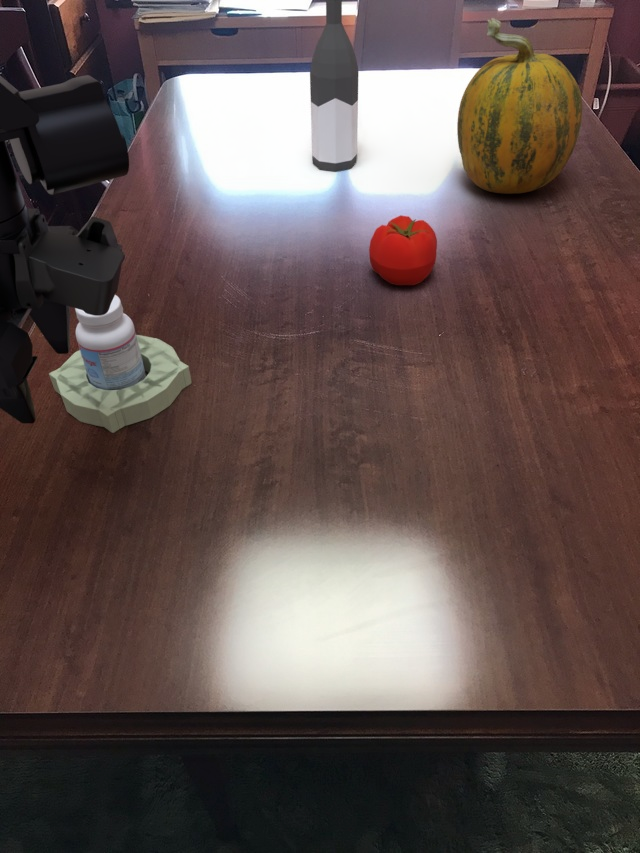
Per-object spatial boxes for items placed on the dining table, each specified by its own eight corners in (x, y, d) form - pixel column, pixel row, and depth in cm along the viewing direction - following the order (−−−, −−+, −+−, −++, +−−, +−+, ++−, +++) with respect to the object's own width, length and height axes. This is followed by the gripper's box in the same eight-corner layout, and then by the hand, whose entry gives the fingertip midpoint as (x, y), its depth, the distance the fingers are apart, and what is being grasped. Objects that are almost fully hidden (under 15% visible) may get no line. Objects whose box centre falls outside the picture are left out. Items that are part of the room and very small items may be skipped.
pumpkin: (427, 184, 117) (442, 17, 100) (498, 154, 126) (523, -4, 109) (517, 221, 106) (551, 41, 89) (588, 185, 115) (630, 16, 98)
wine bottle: (355, 153, 128) (358, -40, 107) (358, 171, 122) (362, -30, 101) (311, 155, 127) (306, -38, 107) (312, 172, 122) (307, -28, 101)
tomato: (389, 299, 91) (392, 248, 86) (358, 269, 97) (359, 219, 92) (449, 282, 94) (456, 231, 88) (415, 254, 100) (419, 204, 94)
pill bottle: (89, 379, 80) (62, 295, 72) (141, 366, 81) (121, 282, 74) (98, 411, 75) (71, 325, 68) (153, 396, 77) (132, 311, 69)
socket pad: (110, 444, 71) (104, 426, 70) (40, 391, 78) (33, 374, 76) (206, 382, 79) (203, 365, 77) (134, 339, 85) (130, 322, 84)
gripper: (55, 280, 40) (114, 465, 51) (128, 156, 54) (163, 322, 65) (-130, 281, 41) (-33, 464, 51) (-11, 158, 54) (46, 323, 65)
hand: (47, 385), depth 58 cm, fingers open, 9 cm apart
